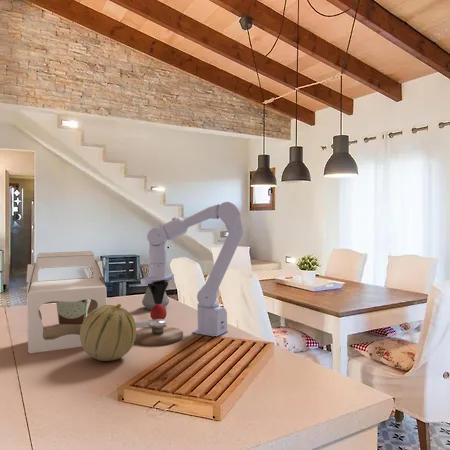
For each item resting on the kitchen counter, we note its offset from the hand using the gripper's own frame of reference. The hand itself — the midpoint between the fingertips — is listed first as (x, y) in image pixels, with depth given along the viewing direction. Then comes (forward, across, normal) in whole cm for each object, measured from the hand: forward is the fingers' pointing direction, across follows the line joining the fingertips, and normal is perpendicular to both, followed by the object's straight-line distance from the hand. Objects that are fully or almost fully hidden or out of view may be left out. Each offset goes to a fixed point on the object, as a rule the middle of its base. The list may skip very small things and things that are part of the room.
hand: (158, 303), depth 139 cm
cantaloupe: (+10, +28, +7) cm, 30 cm away
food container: (+10, +7, -34) cm, 36 cm away
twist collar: (+6, +9, +2) cm, 11 cm away
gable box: (+10, +24, -16) cm, 30 cm away
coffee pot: (+10, -25, -21) cm, 34 cm away
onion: (+10, -8, -7) cm, 14 cm away
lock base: (+9, +6, +5) cm, 12 cm away
